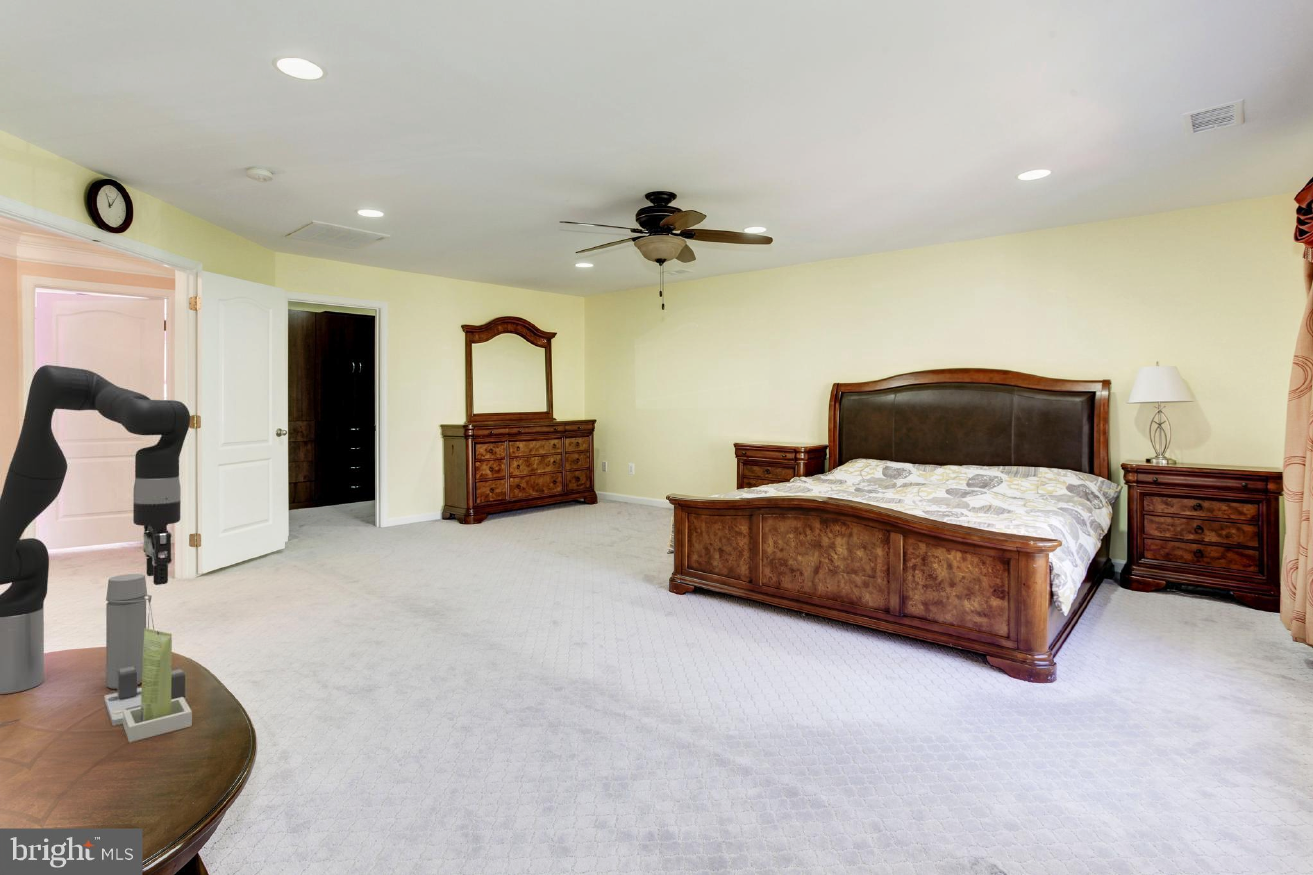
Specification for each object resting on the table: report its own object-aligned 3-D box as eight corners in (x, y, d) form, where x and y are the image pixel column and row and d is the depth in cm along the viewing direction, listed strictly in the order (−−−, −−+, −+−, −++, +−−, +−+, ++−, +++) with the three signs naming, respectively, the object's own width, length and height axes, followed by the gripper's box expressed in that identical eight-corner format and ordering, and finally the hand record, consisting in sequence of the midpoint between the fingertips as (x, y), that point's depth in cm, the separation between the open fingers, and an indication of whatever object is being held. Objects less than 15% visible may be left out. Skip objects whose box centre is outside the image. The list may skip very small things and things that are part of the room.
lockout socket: (122, 725, 133) (123, 710, 132) (183, 710, 140) (183, 696, 140) (129, 742, 126) (129, 727, 126) (191, 725, 133) (191, 711, 133)
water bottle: (105, 694, 146) (105, 583, 145) (106, 681, 152) (106, 575, 151) (157, 684, 152) (157, 577, 151) (156, 673, 158) (156, 570, 157)
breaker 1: (117, 694, 143) (117, 668, 143) (134, 690, 145) (134, 665, 145) (119, 698, 141) (119, 673, 140) (136, 694, 143) (136, 669, 143)
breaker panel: (104, 700, 143) (104, 694, 143) (169, 686, 151) (169, 680, 151) (112, 726, 132) (112, 718, 132) (182, 708, 140) (182, 702, 140)
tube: (177, 717, 137) (178, 625, 136) (171, 728, 132) (171, 632, 131) (144, 721, 134) (144, 627, 134) (136, 733, 130) (136, 636, 129)
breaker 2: (165, 696, 142) (165, 671, 142) (182, 692, 144) (182, 667, 144) (168, 701, 140) (168, 675, 140) (185, 697, 142) (185, 672, 142)
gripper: (187, 502, 129) (186, 584, 129) (173, 494, 139) (173, 569, 139) (139, 505, 123) (138, 590, 124) (128, 496, 133) (128, 575, 134)
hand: (156, 579), depth 132 cm, fingers open, 8 cm apart
